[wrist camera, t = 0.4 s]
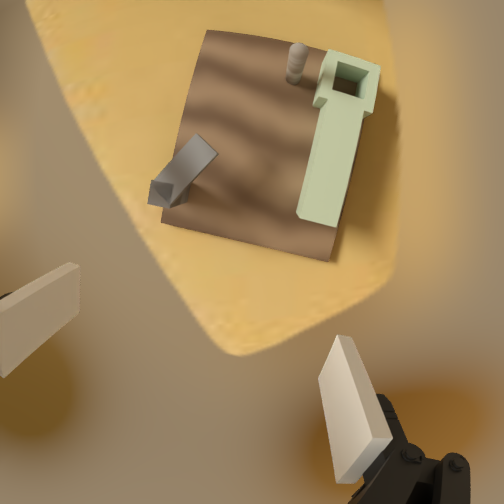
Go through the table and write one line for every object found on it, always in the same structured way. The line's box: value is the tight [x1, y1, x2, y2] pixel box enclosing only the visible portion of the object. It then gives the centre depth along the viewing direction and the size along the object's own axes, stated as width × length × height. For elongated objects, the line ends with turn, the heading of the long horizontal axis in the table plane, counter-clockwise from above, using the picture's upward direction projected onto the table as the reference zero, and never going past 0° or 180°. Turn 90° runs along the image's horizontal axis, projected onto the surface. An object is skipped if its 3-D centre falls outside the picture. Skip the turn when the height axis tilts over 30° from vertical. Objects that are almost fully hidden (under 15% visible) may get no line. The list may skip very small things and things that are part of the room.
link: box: [296, 49, 381, 227], centre depth 31 cm, size 19×6×5 cm, turn 167°
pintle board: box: [147, 30, 364, 262], centre depth 30 cm, size 26×22×10 cm
